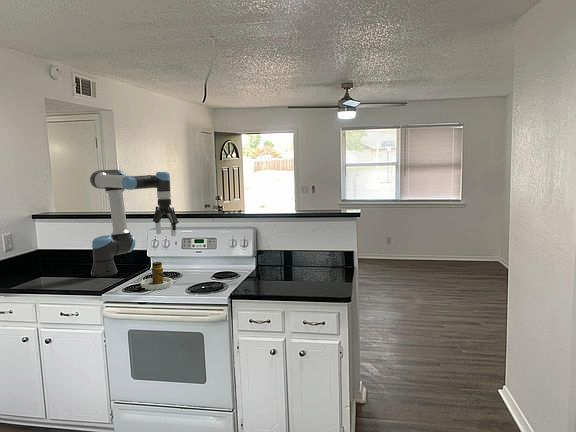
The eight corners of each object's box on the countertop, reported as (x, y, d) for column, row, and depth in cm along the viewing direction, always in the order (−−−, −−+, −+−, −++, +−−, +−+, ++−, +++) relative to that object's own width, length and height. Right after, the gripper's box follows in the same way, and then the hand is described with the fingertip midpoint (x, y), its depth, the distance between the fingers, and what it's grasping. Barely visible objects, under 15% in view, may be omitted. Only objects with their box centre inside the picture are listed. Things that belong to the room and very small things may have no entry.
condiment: (165, 283, 257) (164, 262, 256) (151, 286, 252) (149, 265, 251) (161, 281, 263) (160, 260, 262) (146, 283, 258) (145, 262, 257)
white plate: (148, 281, 267) (147, 277, 266) (176, 281, 265) (176, 277, 265) (136, 289, 250) (136, 285, 250) (166, 289, 249) (166, 285, 248)
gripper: (183, 198, 260) (185, 235, 262) (156, 197, 275) (158, 232, 277) (172, 200, 254) (174, 237, 257) (145, 198, 269) (147, 233, 272)
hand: (166, 234), depth 267 cm, fingers open, 13 cm apart
